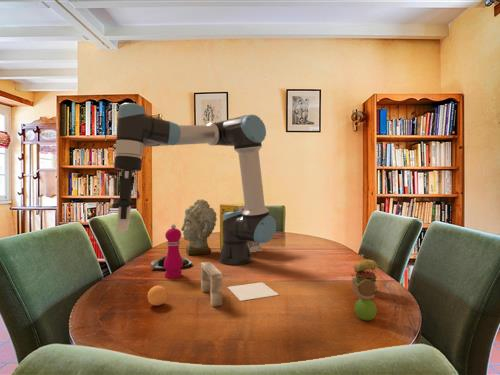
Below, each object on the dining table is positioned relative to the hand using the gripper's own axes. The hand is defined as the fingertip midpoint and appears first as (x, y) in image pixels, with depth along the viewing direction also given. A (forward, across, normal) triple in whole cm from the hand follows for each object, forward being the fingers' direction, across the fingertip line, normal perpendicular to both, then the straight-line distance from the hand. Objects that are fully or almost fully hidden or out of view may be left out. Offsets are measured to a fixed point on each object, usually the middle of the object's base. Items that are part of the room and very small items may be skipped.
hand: (123, 228), depth 86 cm
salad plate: (+20, -40, +19) cm, 49 cm away
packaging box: (+17, -58, +57) cm, 83 cm away
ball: (+19, +3, +10) cm, 22 cm away
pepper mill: (+21, -24, +18) cm, 37 cm away
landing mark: (+20, +2, +41) cm, 45 cm away
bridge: (+21, +2, +27) cm, 34 cm away
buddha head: (+18, -62, +35) cm, 73 cm away
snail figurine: (+20, +32, +60) cm, 71 cm away
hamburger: (+18, +16, +76) cm, 79 cm away
